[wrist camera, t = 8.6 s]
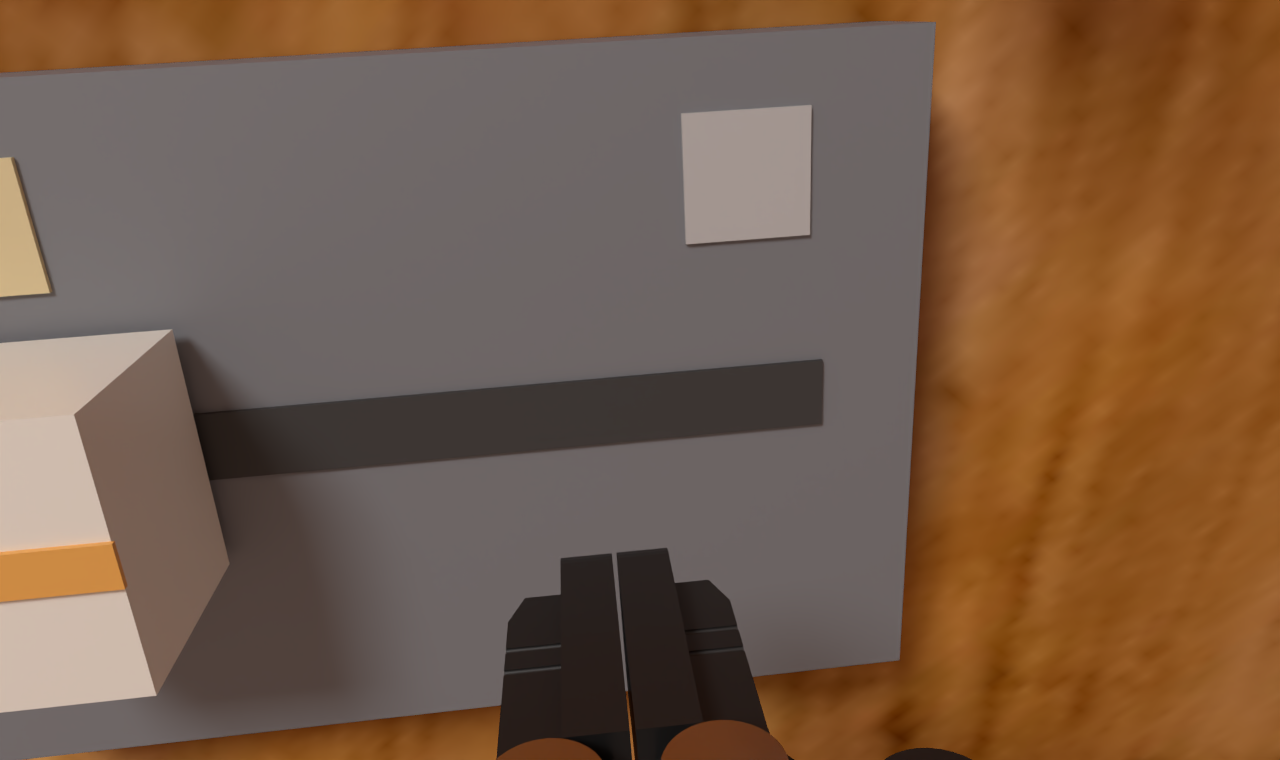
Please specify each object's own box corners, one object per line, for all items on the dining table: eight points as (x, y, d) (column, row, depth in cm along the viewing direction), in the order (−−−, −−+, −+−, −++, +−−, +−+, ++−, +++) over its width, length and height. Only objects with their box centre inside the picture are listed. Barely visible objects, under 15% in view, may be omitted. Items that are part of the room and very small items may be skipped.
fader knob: (175, 328, 17) (74, 417, 14) (232, 563, 19) (157, 699, 15) (-60, 348, 17) (-231, 443, 13) (20, 584, 19) (-109, 728, 15)
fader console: (879, 21, 20) (937, 22, 17) (858, 588, 25) (900, 663, 22) (-182, 83, 18) (-316, 96, 15) (26, 677, 23) (-45, 770, 20)
